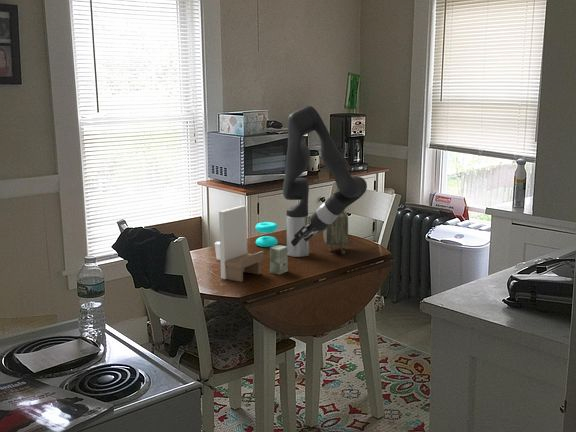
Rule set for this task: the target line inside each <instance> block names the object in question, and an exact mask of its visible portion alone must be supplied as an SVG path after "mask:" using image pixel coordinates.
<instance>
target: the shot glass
mask: <svg viewBox="0 0 576 432" xmlns="http://www.w3.org/2000/svg"><path fill="white" fill-rule="evenodd" d="M214 250H215V256H216V260H217V261H220V240H219V241H218V240H217V241H215V242H214Z"/></svg>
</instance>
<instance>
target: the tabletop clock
mask: <svg viewBox="0 0 576 432" xmlns="http://www.w3.org/2000/svg"><path fill="white" fill-rule="evenodd" d="M322 233H323V234H322V236H323V240H324V243H325V244H326V245H328V246H330V247H329V248H328V251H329V252H332V251H333V246H337V248H338V249H340V250H341V252H340V253H341V255H345V253H346V251H345V250H343V247H342V246H348V244H349V215H348V213H347V211H346V209H345V210H344V211H343V212H342V213H341V214H340V215H339V216H338V217H337V218H336V220H335V221H334V222H333V223H332V224H331V225H330V226H328V227H327V228H326V229H325V230H324V231H322Z"/></svg>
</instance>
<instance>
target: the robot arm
mask: <svg viewBox="0 0 576 432" xmlns="http://www.w3.org/2000/svg"><path fill="white" fill-rule="evenodd" d="M313 131H315V132H316V134H317V135H318V137H319V140H320V142H319V143H320V155H321V159H322V162H323V164H324V166H325V167H326V168H327V169H328V171H329V172H330V174H331V175H332V176H333V179H334V181H335V184H336V187H337V189H338V190H339V191H336V192H334V193H333V194H331V195H330V196H329V198H327V199H326V200H325V202H323V203H322V204H320V206H318V208H317V209H316V210H315V211H314V212H312V214H310V216H309V193H310V191H309V190H310V189H309V188H310V186H309V185H310V184H309V180H308V179H307V178H306V177H300V176H301V175H302V174H303V173H304V172H306V171H307V169H308V167H309V165H310V159H311V150H310V148H309V146H308V145H307V144H306V143H305V142H304V141H302V140H303V137H304V136H306V135H307V134H310V133H311V132H313ZM287 135H288V137H287V151H286V160H285V161H286V162H285V173H284V177H283V178H284V179H283V184H282V194H283V198H284V199H285V200H289V201H299V202H298V203H297V204H295V205H293V206H290V207H288V208H287V209H286V246H287V256H289V257H293V258H296V257H297V258H299V257H307V256H308V257H309V256H310V239H311V238H312V237H314V236H316V235H318V234H319V233H320V232H323V231H324V230H325V229H326V228H327V227H328V226H330V225H331V224H332V223H333V222H334V221H335V220H336V218H337V217H338V216H339V215H340V214H341V213H342V212H343V211H344V210H345V211H346V209H347V208H349V206H351V204H353V203H355V202H356V201H358V199H361V198H362V197H363V196H364V194H365V193H366V191H367V188H368V185H367V181H366V180H365V179H364V178H363V177H361V176H352V175H351V174H350V170H351V165H350V164H349V161H348V160H347V159H346V158H345V156H344V155H343V154H342V153H341V151H340V150H339V148H338V147H337V145H336V143H335V142H334V139H333V138H332V136H331V134H330V132H329V130H328V127H327V126H326V124H325V123H324V121H323V119H322V117H321V115H320V114H319V112H318V111H317V109H316V108H314V106H312V105H307V106H304V107H303V108H300V109H298V110H295V111H294V112H292V113H290V114H289V116H288V118H287ZM309 221H310V222H309Z"/></svg>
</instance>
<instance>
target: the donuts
mask: <svg viewBox="0 0 576 432" xmlns="http://www.w3.org/2000/svg"><path fill="white" fill-rule="evenodd" d="M277 229H278V225H277V223H275V222H270V221H264V222H258V223H256V225H255V230H256V231H257V232H259V233H262V234H263V233H264V234H270V233H271V234H272V233H273V232H276V231H277ZM278 243H279V242H278V239H277V238H276V237H274V236H271V235H270V236H269V235H266V236H260V237H258V238H256V240H255V244H256V246H257V247H259V248H271V247H274V246H276V245H278Z"/></svg>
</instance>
